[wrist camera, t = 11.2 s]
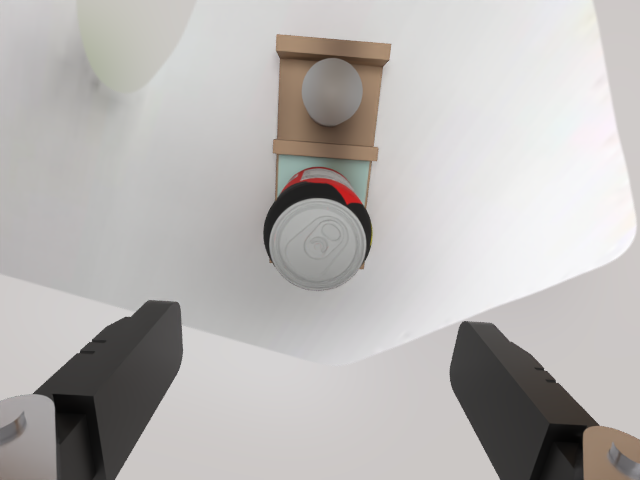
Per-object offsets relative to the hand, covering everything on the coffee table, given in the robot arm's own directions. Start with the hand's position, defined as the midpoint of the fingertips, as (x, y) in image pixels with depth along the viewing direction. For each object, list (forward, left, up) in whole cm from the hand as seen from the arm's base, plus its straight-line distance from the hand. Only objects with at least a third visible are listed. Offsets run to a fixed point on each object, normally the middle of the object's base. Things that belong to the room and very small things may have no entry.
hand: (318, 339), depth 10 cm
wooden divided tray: (0, +3, -22) cm, 22 cm away
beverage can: (0, 0, -21) cm, 21 cm away
